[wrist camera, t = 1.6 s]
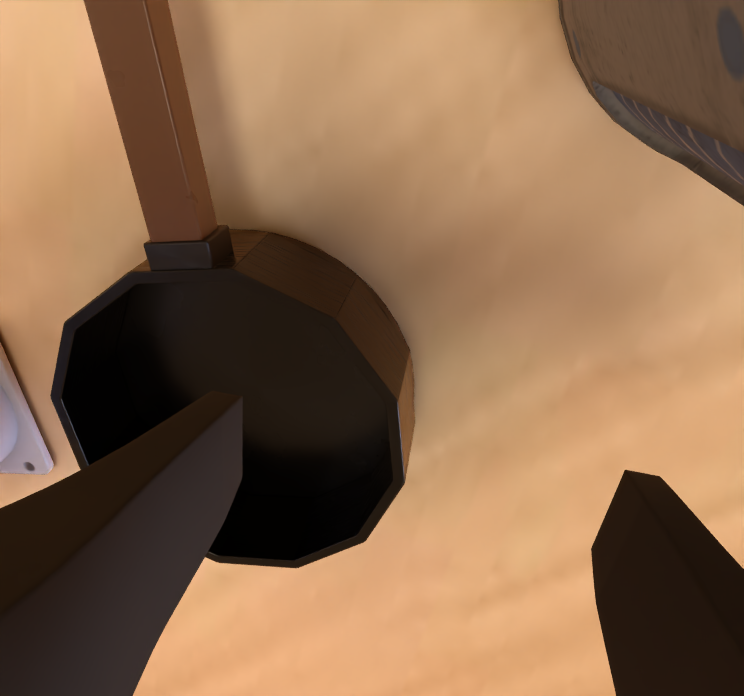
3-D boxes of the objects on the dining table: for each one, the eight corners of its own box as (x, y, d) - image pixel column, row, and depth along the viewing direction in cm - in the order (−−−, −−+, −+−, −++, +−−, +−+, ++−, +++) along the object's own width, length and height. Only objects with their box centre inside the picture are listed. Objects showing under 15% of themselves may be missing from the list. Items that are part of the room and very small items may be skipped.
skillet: (422, 499, 25) (413, 577, 21) (163, 487, 27) (115, 555, 23) (382, -92, 15) (352, -129, 12) (-14, -34, 17) (-136, -49, 14)
